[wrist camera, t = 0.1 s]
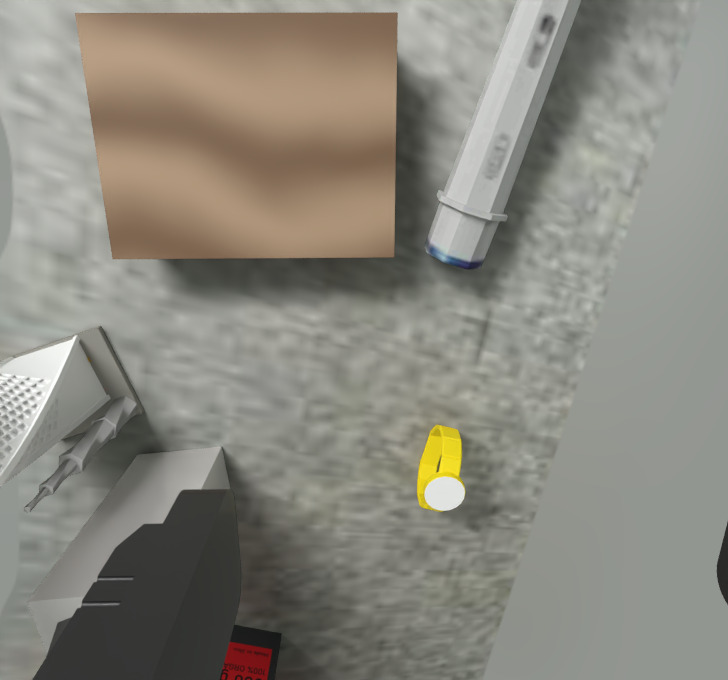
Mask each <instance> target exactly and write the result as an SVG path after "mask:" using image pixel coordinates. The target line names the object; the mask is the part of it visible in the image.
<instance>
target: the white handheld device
mask: <svg viewBox="0 0 728 680" xmlns="http://www.w3.org/2000/svg"><path fill="white" fill-rule="evenodd" d="M580 3H581V0H517V2H516V5H515V7H514V10H513V12H512V15H511V18H510V20H509V23H508V26H507V28H506V31H505V33H504V36H503V39H502V41H501V44H500V46H499V49H498V52H497V54H496V57H495V59H494V62H493V65H492V67H491V70H490V72H489V75H488V78H487V80H486V83H485V85H484V88H483V91H482V93H481V96H480V98H479V101H478V104H477V106H476V109H475V111H474V114H473V117H472V119H471V122H470V124H469V127H468V130H467V132H466V135H465V138H464V140H463V143H462V145H461V148H460V151H459V153H458V156H457V158H456V161H455V164H454V166H453V169H452V171H451V174H450V177H449V179H448V182H447V184H446V187H445V190H444V191H441V190H438V193H437V197H438V199H439V201H440V203H439V206H438V209H437V212H436V215H435V218H434V220H433V223H432V226H431V229H430V232H429V234H428V237H427V240H426V243H425V250H426V253H428V254H430V255H432V256H433V257H435V258H437V259H439V260H441V261H442V262H444V263H448V264H451V265H454V266H458V267H461V268H464V269H480V268H481V266H482V263H483V261H484V258H485V256H486V253H487V251H488V249H489V246H490V244H491V241H492V239H493V236H494V234H495V232H496V229H497V227H498V224H499V222H500V221H505V222H506V220H507V218H508V216H507V215H506V214H505V213H504V209H505V206H506V204H507V201H508V198H509V196H510V193H511V190H512V187H513V185H514V182H515V179H516V177H517V174H518V171H519V168H520V166H521V163H522V160H523V158H524V155H525V152H526V149H527V147H528V144H529V141H530V138H531V136H532V133H533V130H534V128H535V125H536V122H537V119H538V117H539V114H540V111H541V109H542V106H543V103H544V100H545V98H546V95H547V92H548V90H549V87H550V84H551V81H552V79H553V76H554V73H555V71H556V68H557V65H558V62H559V60H560V57H561V54H562V52H563V49H564V46H565V43H566V41H567V38H568V35H569V32H570V30H571V27H572V24H573V22H574V19H575V16H576V13H577V11H578V8H579V5H580Z"/></svg>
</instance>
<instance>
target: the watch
mask: <svg viewBox="0 0 728 680" xmlns="http://www.w3.org/2000/svg"><path fill="white" fill-rule="evenodd" d="M461 442H462V441H461V438H460V434H459V431H458V430H457V429H454V428H450V427H446V426H441V425H436V426H434V428H433V429H432V430H431V431H430V434H429V437H428V440H427V443H426V446H425V449H424V452H423V455H422V458H421V460H420V464H419V471H418V478H417V479H418V481H417V495H418V496H417V497H418V501H419V505H420V506H421V507H422V508H425V509H430V510H434V511H439V512H443V511H446V510H451V509H453V508H456V507H457V506H458V505H459V504H461V503H462V501H463V499H464V497H465V493H466V492H465V486H464V483H463V481H462V479H461V478H460V477H459V475H460V468H461V462H462V461H461V459H462V443H461ZM441 456H442V457H441ZM440 458H441V461H440ZM439 461H440V467H439V472H437V466H438V463H439Z"/></svg>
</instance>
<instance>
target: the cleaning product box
mask: <svg viewBox="0 0 728 680" xmlns="http://www.w3.org/2000/svg"><path fill="white" fill-rule="evenodd" d="M281 635H282V634H281V633H276V632H270V631H265V630H259V629H254V628H248V627H243V626H237V625H234V627H233V631H232V635H231V639H230V643H229V646H228V650H227V654H226V658H225V661H224V665H223V669H222V673H221V676H220V680H274V678H275V672H276V666H277V660H278V653H279V647H280V641H281Z"/></svg>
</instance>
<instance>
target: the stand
mask: <svg viewBox="0 0 728 680" xmlns="http://www.w3.org/2000/svg"><path fill="white" fill-rule="evenodd" d="M75 16H76V22H77V29H78V35H79V42H80V48H81V55H82V61H83V68H84V75H85V81H86V88H87V94H88V101H89V107H90V114H91V120H92V127H93V133H94V140H95V146H96V153H97V159H98V166H99V173H100V179H101V186H102V192H103V199H104V205H105V212H106V218H107V225H108V231H109V238H110V244H111V251H112V257H113V259H221V258H370V257H394V240H395V165H396V90H397V16H398V13H75Z"/></svg>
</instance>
